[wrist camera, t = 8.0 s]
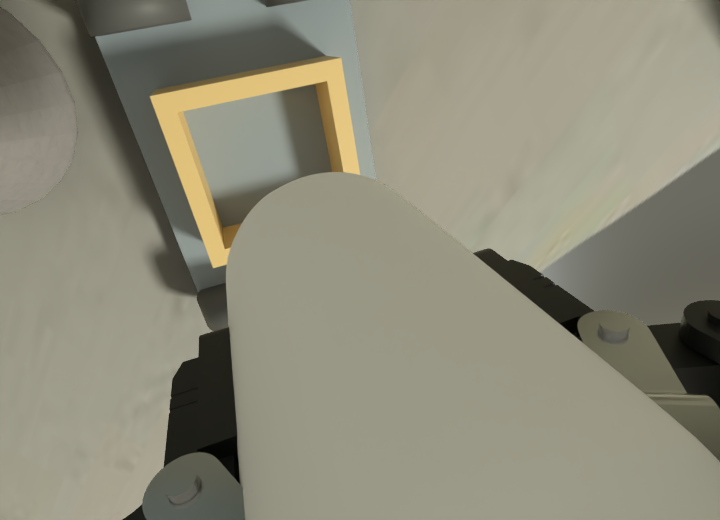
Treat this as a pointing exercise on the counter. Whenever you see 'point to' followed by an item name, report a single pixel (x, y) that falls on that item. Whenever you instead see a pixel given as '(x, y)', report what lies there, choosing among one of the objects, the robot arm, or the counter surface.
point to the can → (427, 380)
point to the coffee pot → (31, 118)
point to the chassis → (233, 109)
